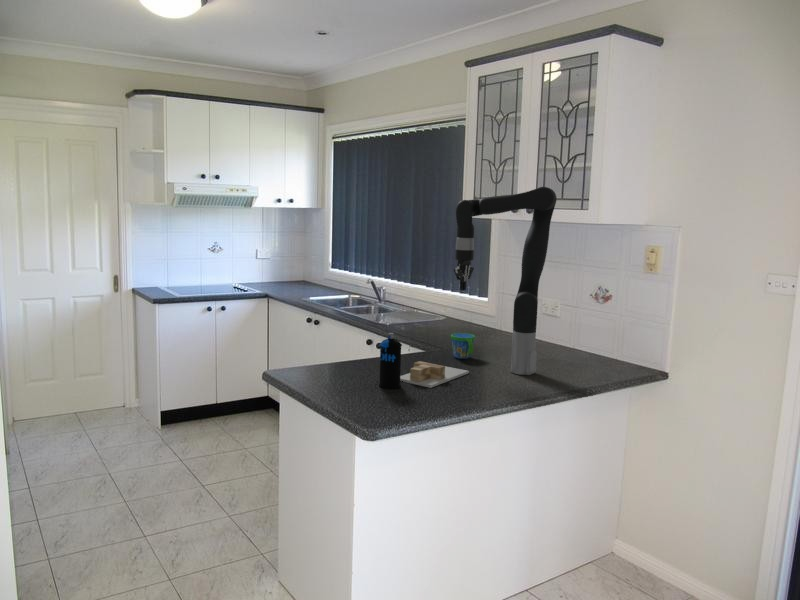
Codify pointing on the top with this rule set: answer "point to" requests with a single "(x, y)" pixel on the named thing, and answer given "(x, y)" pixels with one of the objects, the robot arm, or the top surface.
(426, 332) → the top surface
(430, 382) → the mat
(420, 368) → the t block
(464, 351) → the snack cup
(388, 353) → the aerosol can
